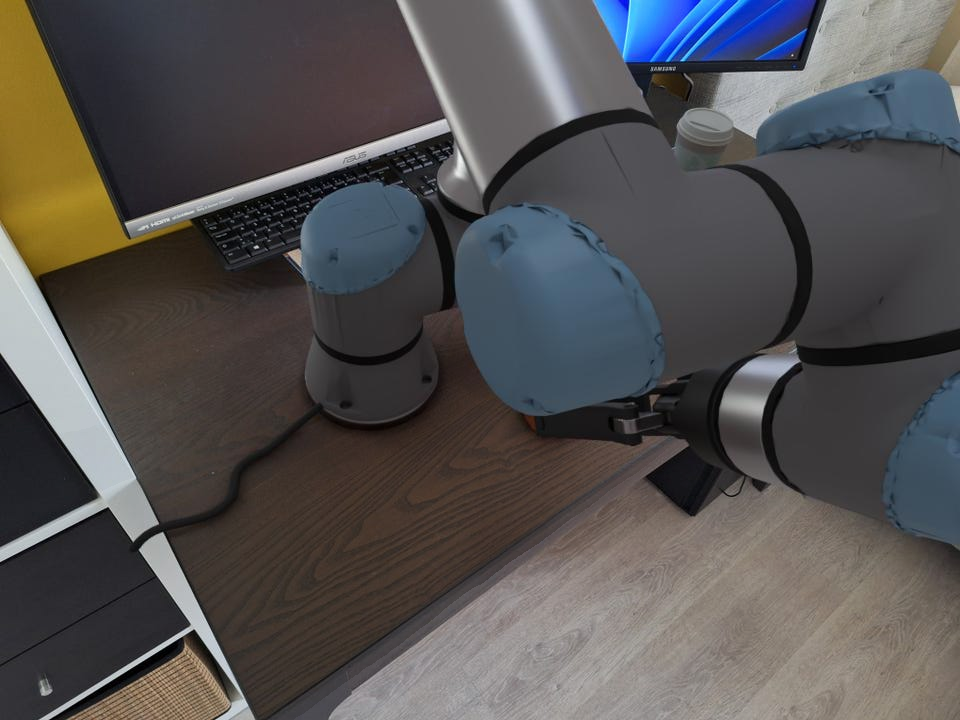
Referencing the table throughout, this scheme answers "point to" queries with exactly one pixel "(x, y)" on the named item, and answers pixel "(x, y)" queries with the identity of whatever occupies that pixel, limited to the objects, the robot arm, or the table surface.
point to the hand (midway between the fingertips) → (612, 388)
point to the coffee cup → (702, 138)
